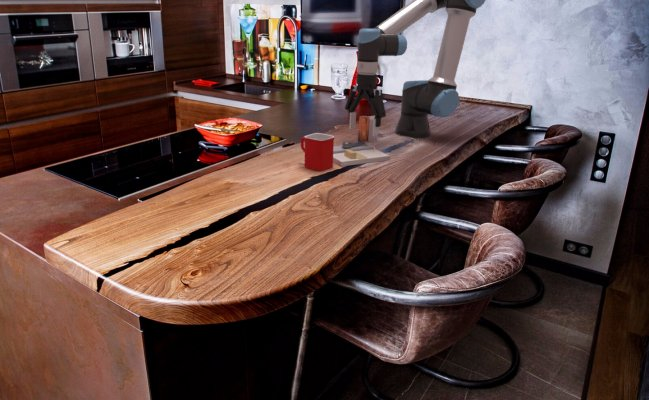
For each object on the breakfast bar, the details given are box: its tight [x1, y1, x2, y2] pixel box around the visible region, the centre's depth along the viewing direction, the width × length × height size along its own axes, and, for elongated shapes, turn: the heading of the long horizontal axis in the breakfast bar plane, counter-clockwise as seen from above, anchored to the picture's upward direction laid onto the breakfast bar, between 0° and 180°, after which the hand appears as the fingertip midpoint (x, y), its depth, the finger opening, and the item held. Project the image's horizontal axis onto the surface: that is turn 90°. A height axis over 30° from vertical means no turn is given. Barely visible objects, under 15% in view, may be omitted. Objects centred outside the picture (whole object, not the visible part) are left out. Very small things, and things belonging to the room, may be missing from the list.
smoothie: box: [367, 114, 378, 143], centre depth 202 cm, size 6×6×14 cm
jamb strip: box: [333, 142, 375, 154], centre depth 185 cm, size 20×6×2 cm, turn 118°
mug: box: [300, 132, 335, 172], centre depth 168 cm, size 12×8×11 cm
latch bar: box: [341, 115, 370, 148], centre depth 184 cm, size 13×4×10 cm, turn 133°
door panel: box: [333, 148, 391, 167], centre depth 178 cm, size 20×10×4 cm, turn 118°
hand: (363, 132), depth 187 cm, fingers open, 11 cm apart
